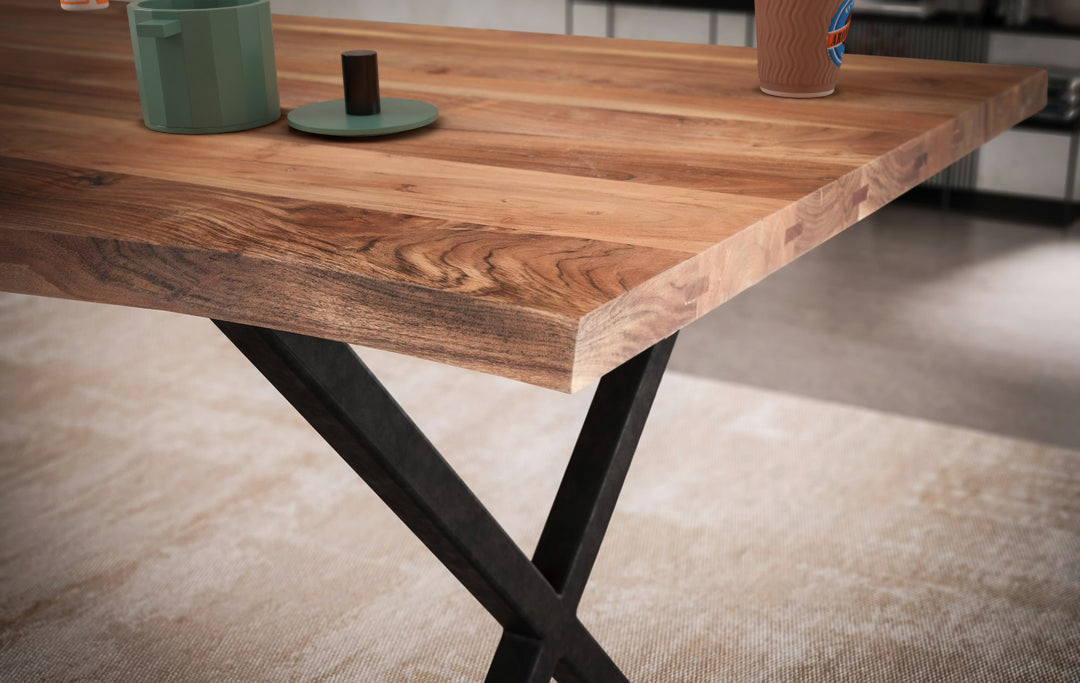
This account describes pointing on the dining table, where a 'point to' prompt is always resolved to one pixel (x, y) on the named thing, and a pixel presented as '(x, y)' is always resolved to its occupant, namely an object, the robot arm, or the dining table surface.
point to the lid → (362, 105)
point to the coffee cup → (801, 45)
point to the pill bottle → (84, 4)
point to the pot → (205, 64)
